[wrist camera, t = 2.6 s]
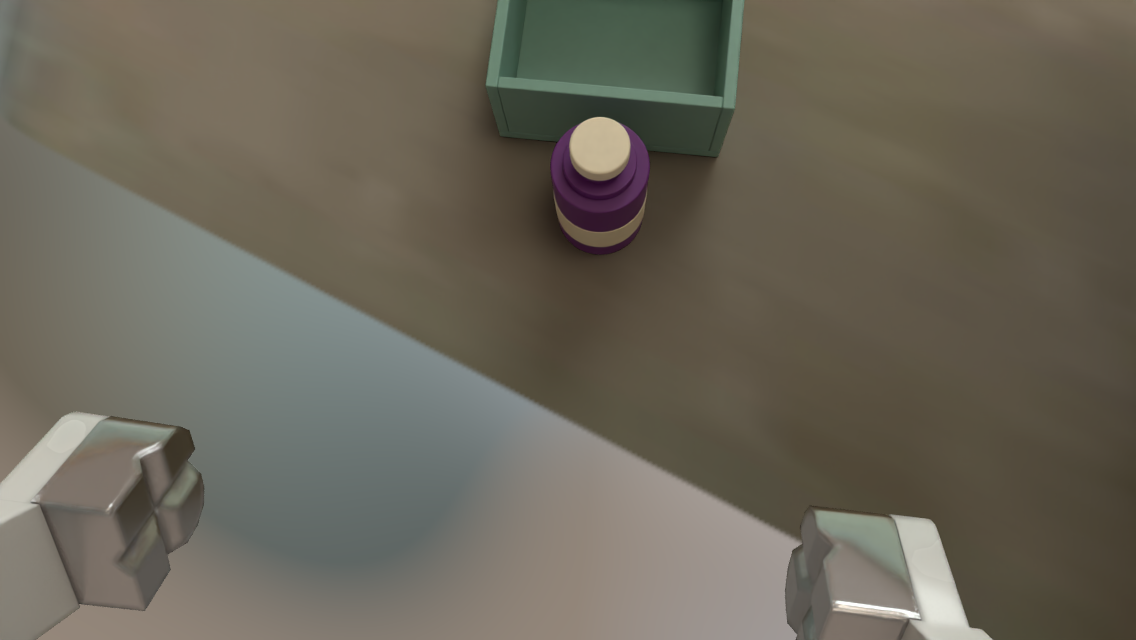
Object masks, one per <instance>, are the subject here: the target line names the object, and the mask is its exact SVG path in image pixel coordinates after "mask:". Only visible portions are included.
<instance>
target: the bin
mask: <svg viewBox="0 0 1136 640" xmlns="http://www.w3.org/2000/svg"><path fill="white" fill-rule="evenodd" d="M743 11H744V0H498V2H497V9H496V16H495V23H494V29H493V36H492V43H491V50H490V57H489V64H488V71H487V78H486V84H485V86H486V89H487V93H488V96H489V100H490V103H491V106H492V110H493V113H494V117H495V120H496V123H497V127H498V130H499V134H500V136H503V137H513V138H524V139H534V140H545V141H555V142H558V141H559V140H560V138H561V137H562V136H563V135H564V134H565V133H566V132H567V131H568V130H570V129H571V128H573V127H574V126H576V125H578V124H580V123H582V122H584V121H586V120H588V119H591V118H595V117H605V118H609V119H612V120H615V121H616V122H618V123H621V124H623V125H625V126H627V127H628V128H630V129H631V130H633V131H634V132H635V133H636V134H637V135H638V136H639V137H640V139H641V140H642V141H643V143H644V145H645V147H646V149H647V150H649V151H660V152H670V153H680V154H691V155H701V156H712V157H718V156H719V153H720V150H721V147H722V144H723V141H724V138H725V136H726V133H727V130H728V127H729V124H730V121H731V118H732V116H733V113H734V110H735V103H736V91H737V80H738V68H739V57H740V45H741V34H742V22H743Z"/></svg>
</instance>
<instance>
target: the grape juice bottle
mask: <svg viewBox="0 0 1136 640" xmlns="http://www.w3.org/2000/svg"><path fill="white" fill-rule="evenodd" d="M550 170H551V178H552V184H553V193H554V200H555V206H556V212H557V216H558V220H559V224H560V227H561V230H562V232H563V234H564V235H565V237H566V238H567V239H568V241H569V242H570V243H571V244H573V245H574V246H575V247H577V248H578V249H580V250H582V251H585V252H588V253H592V254H609V253H613V252H616V251H618V250H620V249H622V248H624V247H625V246H627V245H628V244H629V243H630V242H631V241H632V240H633V239H634V238H635V236H636V235H637V233H638V232H639V229H640V227H641V224H642V219H643V215H644V210H645V204H646V197H647V185H648V179H649V172H650V161H649V155H648V152H647V149H646V147H645V145H644V143H643V141H642V140H641V139H640V137H639V136H638V135H637V134H636V133H635V132H634V131H633V130H631V129H630V128H628V127H627V126H625V125H623V124H621V123H618V122H616V121H615V120H612V119H609V118H605V117H595V118H591V119H588V120H586V121H584V122H582V123H580V124H578V125H576V126H574V127H573V128H571V129H570V130H568V131H567V132H566V133H565V134H564V135H563V136H562V137H561V138H560V140H559V141H558V143H557V144H556V146H555V148H554V150H553V153H552V157H551V164H550Z"/></svg>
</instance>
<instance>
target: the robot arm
mask: <svg viewBox="0 0 1136 640" xmlns="http://www.w3.org/2000/svg"><path fill="white" fill-rule="evenodd" d="M194 450H195V447H194V444H193V440H192V437H191V434H190V431H189V430H187V429H185V428H183V427H179V426H173V425H166V424H160V423H153V422H147V421H140V420H133V419H126V418H120V417H113V416H110V417H108V416H102V415H95V414H89V413H82V412H76V411H75V412H72V413H70V414H68V415H65V416H63V417H62V418H61V419H60V420H59V421H58V422H57V423H56V424H55V425H54V426H53V427H52V428H51V429H50V430H49V432H48V433H47V434H46V435H45V436H44V437H43V438H42V439H41V440H40V441H39V442H38V444H36V446H35V447H34V448H33V449H32V450H31V451H30V452H29V453H28V454H27V455H26V456H25V457H24V458H23V460H22V461H21V462H20V463H19V464H18V465H17V466H16V467H15V468H14V469H13V470H12V471H11V472H10V474H9V475H8V476H7V477H6V478H5V479H4V480H3V481H2V482H1V483H0V640H36V639H37V638H39V637H40V636H41V635H43V634H44V633H46V632H47V631H48V630H50V629H51V628H52V627H54V626H55V625H57V624H58V623H60V622H61V621H62V620H64V619H65V618H67V617H68V616H69V615H71V614H72V613H73V612H75V611H76V610H77V609H79V608H80V605H79V604H84V605H93V606H103V607H111V608H121V609H130V610H139V611H145V609H146V608H147V606H148V605H149V603H150V602H151V600H152V599H153V597H154V595H155V594H156V592H157V591H158V589H159V587H160V586H161V584H162V582H163V581H164V579H165V578H166V576H167V575H168V573H169V571H170V564H169V560H168V554H169V553H171V552H173V551H174V550H176V549H178V548H179V547H181V546H183V545H184V544H186V543H187V542H188V541H189V539H190V537H191V536H192V534H193V532H194V530H195V529H196V527H197V525H198V522H199V518H200V515H201V512H202V509H203V505H204V485H203V480H202V476H201V473H200V472H198V470H197V469H196V468H195V467H194V466H193V465H192V464H191V463H190V462H188V459H189V457H190V456H191V455H192V453H193V452H194ZM800 529H801V536H802V543H803V544H801V545H800V546H798V547H797V548H795V549H794V550H793V551H792V555H791V558H790V562H789V566H788V571H787V579H786V588H785V594H786V595H785V599H786V613H787V623H788V624H789V625H790V627H791V628H792V629H793V630H794V631H795V633H796V634H797V637H796V640H992V639H991V638H990V637H989V636H988V635H987V634H986V633H985V632H984V631H983V630H982V629H976V628H970V627H969V624H968V621H967V618H966V615H965V612H964V609H963V606H962V603H961V600H960V597H959V594H958V591H957V588H956V585H955V582H954V579H953V576H952V573H951V570H950V567H949V564H948V561H947V558H946V555H945V552H944V549H943V545H942V542H941V539H940V536H939V533H938V530H937V527H936V525H935V524H934V523H933V522H932V521H931V520H930V519H924V518H916V517H907V516H898V515H886V514H880V513H871V512H863V511H854V510H845V509H837V508H828V507H820V506H811V505H809V507H808V508H807V510H806V511H805V513H804V516H803V519H802V522H801V525H800Z"/></svg>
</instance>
